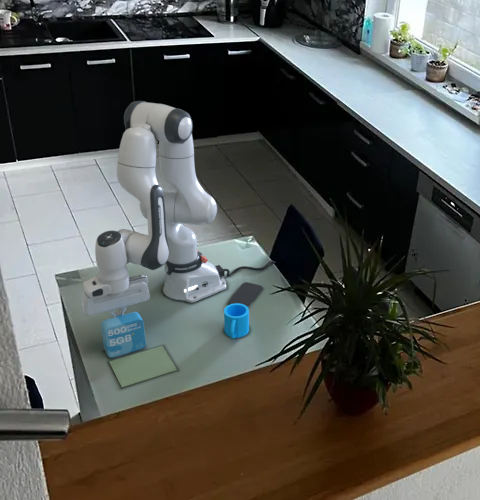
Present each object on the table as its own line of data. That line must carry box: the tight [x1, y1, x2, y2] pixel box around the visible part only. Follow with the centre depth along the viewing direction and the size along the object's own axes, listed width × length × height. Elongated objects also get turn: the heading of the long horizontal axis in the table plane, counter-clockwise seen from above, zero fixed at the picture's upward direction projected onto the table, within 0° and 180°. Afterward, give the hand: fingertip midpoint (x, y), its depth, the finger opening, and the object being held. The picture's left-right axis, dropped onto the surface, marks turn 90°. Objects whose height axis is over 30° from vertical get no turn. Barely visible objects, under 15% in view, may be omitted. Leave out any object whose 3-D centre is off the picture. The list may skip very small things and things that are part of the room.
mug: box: [223, 303, 250, 340], centre depth 230 cm, size 12×8×8 cm
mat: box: [108, 345, 178, 389], centre depth 215 cm, size 17×13×1 cm
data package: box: [100, 311, 147, 359], centre depth 218 cm, size 12×4×12 cm, turn 123°
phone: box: [227, 281, 263, 308], centre depth 250 cm, size 7×1×15 cm
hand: (118, 317), depth 220 cm, fingers closed
